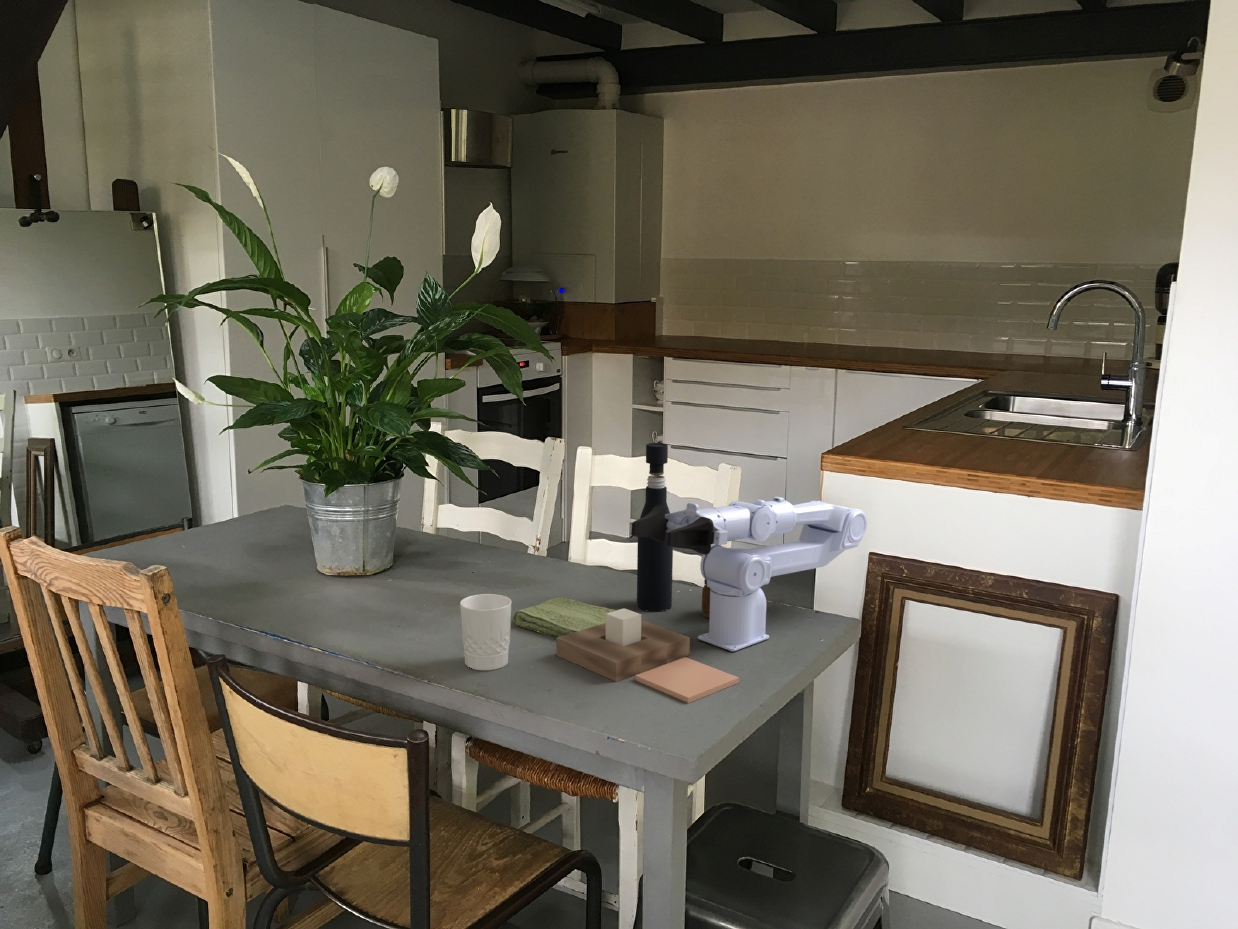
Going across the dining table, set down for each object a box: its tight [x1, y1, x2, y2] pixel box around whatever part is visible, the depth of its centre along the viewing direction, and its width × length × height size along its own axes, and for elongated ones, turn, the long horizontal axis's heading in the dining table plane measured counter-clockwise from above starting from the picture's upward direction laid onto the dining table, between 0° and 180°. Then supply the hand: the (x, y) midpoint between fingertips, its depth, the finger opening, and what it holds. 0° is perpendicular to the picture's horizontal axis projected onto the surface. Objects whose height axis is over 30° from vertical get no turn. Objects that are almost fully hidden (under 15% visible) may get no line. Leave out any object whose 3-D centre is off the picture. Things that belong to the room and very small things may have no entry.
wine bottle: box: [636, 442, 674, 612], centre depth 187 cm, size 6×6×30 cm
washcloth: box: [512, 596, 616, 638], centre depth 179 cm, size 13×18×3 cm
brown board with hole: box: [555, 619, 691, 682], centre depth 165 cm, size 16×14×3 cm
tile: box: [634, 656, 740, 704], centre depth 156 cm, size 11×11×1 cm
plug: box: [606, 608, 642, 647], centre depth 165 cm, size 4×4×7 cm
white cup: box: [459, 593, 512, 671], centre depth 161 cm, size 8×8×10 cm
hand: (650, 534), depth 156 cm, fingers open, 7 cm apart
